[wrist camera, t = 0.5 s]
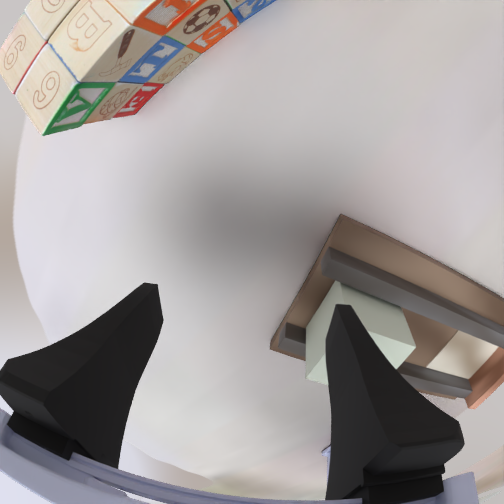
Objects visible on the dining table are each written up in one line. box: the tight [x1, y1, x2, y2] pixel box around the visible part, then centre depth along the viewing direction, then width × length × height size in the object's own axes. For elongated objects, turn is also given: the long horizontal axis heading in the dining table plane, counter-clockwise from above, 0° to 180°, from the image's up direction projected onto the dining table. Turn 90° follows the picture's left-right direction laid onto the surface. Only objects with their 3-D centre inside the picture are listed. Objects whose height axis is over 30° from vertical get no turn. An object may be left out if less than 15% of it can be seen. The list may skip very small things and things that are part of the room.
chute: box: [270, 214, 504, 409], centre depth 21 cm, size 12×22×4 cm, turn 70°
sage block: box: [305, 280, 416, 385], centre depth 19 cm, size 5×5×5 cm
